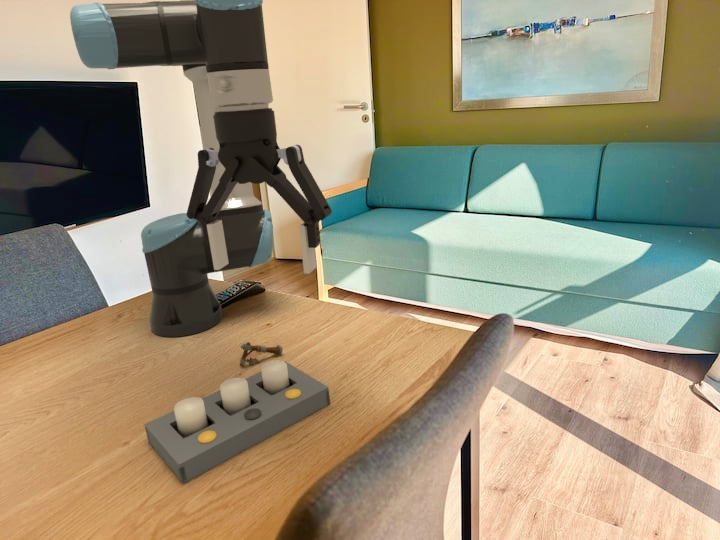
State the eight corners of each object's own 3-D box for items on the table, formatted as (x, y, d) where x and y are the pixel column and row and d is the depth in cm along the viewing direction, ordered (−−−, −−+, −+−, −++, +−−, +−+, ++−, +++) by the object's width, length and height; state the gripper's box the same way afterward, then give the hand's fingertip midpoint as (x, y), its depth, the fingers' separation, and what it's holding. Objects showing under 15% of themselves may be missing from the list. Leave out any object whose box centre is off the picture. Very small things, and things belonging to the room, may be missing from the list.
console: (148, 441, 74) (143, 422, 73) (286, 376, 89) (284, 359, 88) (183, 483, 66) (178, 462, 65) (330, 403, 80) (328, 385, 79)
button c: (259, 388, 82) (256, 367, 81) (280, 378, 84) (277, 357, 83) (272, 398, 79) (269, 376, 78) (294, 387, 82) (291, 366, 80)
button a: (174, 428, 73) (169, 405, 72) (200, 416, 76) (196, 393, 75) (186, 440, 71) (180, 417, 69) (212, 427, 73) (208, 404, 72)
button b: (219, 407, 78) (215, 385, 76) (242, 396, 80) (239, 374, 79) (231, 418, 75) (228, 395, 74) (255, 406, 77) (252, 384, 76)
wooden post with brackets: (233, 363, 93) (239, 340, 93) (272, 366, 98) (279, 343, 97) (237, 367, 92) (243, 343, 91) (277, 369, 96) (283, 347, 96)
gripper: (139, 115, 65) (171, 274, 72) (326, 103, 57) (341, 281, 65) (175, 111, 71) (201, 257, 78) (347, 100, 64) (358, 262, 71)
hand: (264, 268), depth 71 cm, fingers open, 13 cm apart
